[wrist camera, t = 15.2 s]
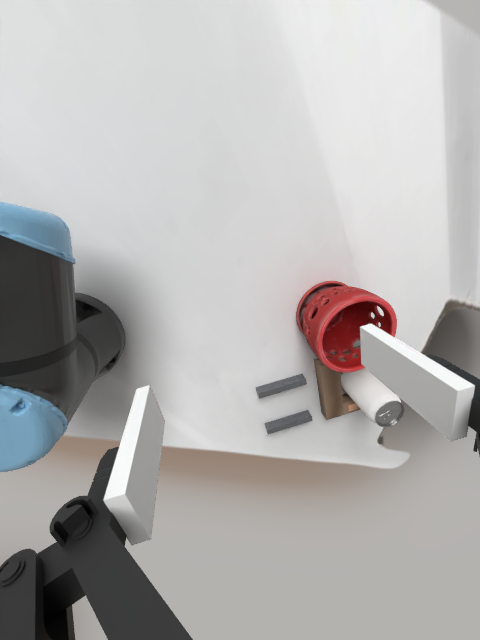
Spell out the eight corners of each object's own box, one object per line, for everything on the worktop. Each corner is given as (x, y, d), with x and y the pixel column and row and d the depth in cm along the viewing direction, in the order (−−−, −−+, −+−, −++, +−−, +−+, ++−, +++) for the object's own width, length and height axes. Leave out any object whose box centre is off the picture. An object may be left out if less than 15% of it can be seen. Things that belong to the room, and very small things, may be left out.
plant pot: (276, 314, 50) (300, 342, 39) (328, 261, 48) (369, 275, 37) (318, 354, 55) (350, 389, 44) (367, 308, 53) (414, 332, 42)
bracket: (265, 427, 59) (267, 434, 57) (255, 387, 55) (257, 393, 53) (308, 414, 60) (312, 420, 58) (302, 373, 56) (305, 379, 54)
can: (371, 378, 59) (412, 415, 48) (346, 394, 60) (381, 435, 49) (359, 358, 57) (399, 392, 46) (333, 375, 57) (367, 413, 46)
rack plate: (321, 412, 60) (327, 420, 58) (314, 359, 55) (320, 366, 52) (387, 391, 61) (396, 399, 59) (387, 338, 56) (396, 344, 53)
